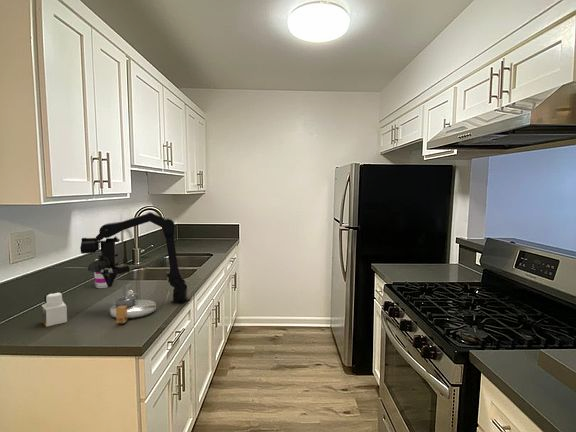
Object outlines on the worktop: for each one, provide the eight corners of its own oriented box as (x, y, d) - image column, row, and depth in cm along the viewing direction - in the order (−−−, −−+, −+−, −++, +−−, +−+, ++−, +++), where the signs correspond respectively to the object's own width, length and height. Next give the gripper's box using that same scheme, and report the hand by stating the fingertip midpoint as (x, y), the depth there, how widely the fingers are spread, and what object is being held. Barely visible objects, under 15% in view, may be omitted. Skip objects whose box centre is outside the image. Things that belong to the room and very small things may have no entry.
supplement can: (104, 289, 186) (103, 261, 185) (91, 288, 188) (90, 260, 187) (115, 285, 194) (114, 258, 193) (102, 284, 196) (101, 257, 195)
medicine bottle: (42, 322, 140) (40, 292, 139) (63, 317, 145) (61, 289, 144) (46, 327, 135) (44, 296, 134) (67, 322, 140) (66, 292, 139)
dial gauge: (132, 301, 166) (132, 287, 166) (139, 302, 165) (138, 288, 164) (126, 303, 163) (126, 289, 162) (133, 304, 161) (132, 290, 161)
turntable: (120, 304, 160) (120, 291, 159) (160, 303, 161) (160, 290, 160) (96, 323, 137) (96, 308, 136) (143, 322, 138) (143, 307, 138)
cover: (125, 301, 158) (125, 293, 158) (139, 303, 155) (139, 295, 155) (111, 306, 150) (110, 298, 150) (125, 309, 148) (125, 300, 147)
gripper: (76, 254, 150) (77, 289, 151) (108, 257, 143) (110, 294, 145) (98, 249, 160) (99, 283, 162) (129, 252, 154) (131, 287, 155)
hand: (109, 286), depth 155 cm, fingers closed
